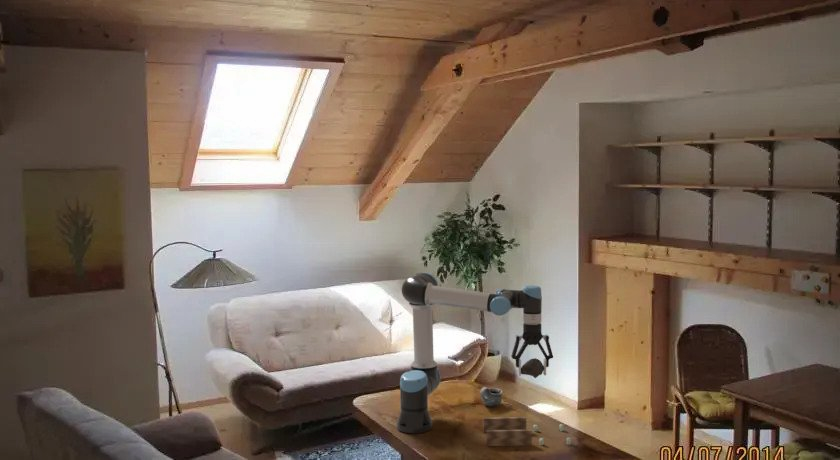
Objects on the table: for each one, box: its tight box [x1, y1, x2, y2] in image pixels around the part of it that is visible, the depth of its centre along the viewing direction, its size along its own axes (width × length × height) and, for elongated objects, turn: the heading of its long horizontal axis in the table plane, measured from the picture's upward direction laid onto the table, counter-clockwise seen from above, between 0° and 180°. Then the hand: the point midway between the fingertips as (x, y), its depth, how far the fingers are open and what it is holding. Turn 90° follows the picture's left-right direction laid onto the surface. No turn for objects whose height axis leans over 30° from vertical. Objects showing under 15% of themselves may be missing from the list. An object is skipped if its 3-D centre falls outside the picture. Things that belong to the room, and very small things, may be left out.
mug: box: [479, 386, 503, 408], centre depth 348 cm, size 10×12×10 cm
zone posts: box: [533, 423, 572, 446], centre depth 309 cm, size 13×17×2 cm
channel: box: [482, 416, 533, 447], centre depth 309 cm, size 18×16×6 cm
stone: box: [521, 358, 544, 379], centre depth 316 cm, size 10×8×10 cm
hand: (532, 374), depth 317 cm, fingers closed on stone, 10 cm apart
